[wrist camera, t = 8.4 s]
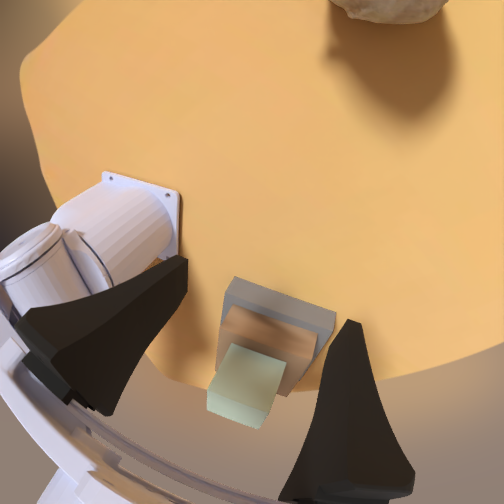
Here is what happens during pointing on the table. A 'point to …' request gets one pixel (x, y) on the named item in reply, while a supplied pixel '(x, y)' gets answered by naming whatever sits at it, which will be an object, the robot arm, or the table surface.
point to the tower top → (268, 342)
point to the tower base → (281, 309)
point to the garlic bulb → (391, 10)
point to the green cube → (245, 386)
